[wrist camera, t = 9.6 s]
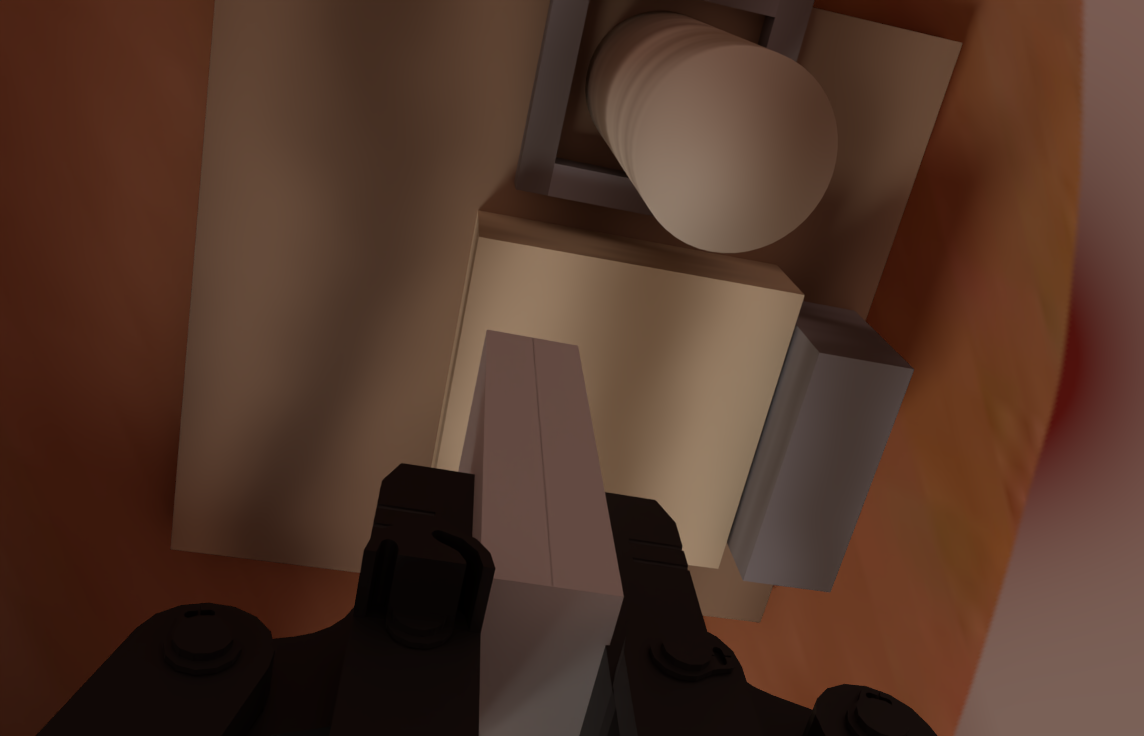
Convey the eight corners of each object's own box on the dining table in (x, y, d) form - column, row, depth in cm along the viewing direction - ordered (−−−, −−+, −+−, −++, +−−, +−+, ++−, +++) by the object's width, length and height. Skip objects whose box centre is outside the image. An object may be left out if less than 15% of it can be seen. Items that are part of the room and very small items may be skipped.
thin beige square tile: (428, 484, 36) (424, 531, 33) (477, 210, 32) (478, 236, 29) (699, 521, 37) (718, 568, 35) (777, 265, 34) (804, 295, 31)
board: (179, 530, 37) (127, 641, 31) (236, -150, 28) (179, -169, 23) (752, 603, 40) (798, 713, 35) (951, 22, 32) (1055, 43, 26)
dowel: (571, 143, 31) (615, 233, 22) (603, -5, 30) (664, 26, 21) (706, 171, 32) (802, 269, 23) (745, 28, 30) (865, 72, 21)
